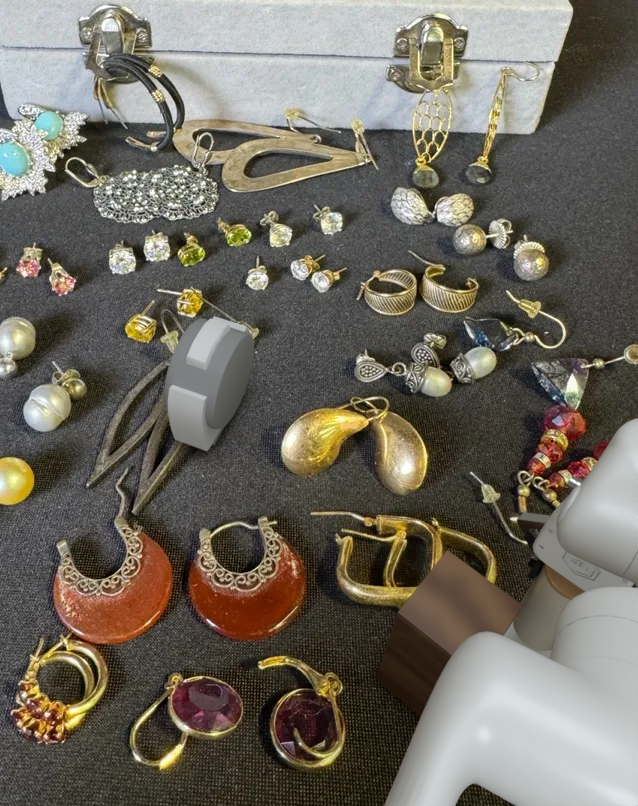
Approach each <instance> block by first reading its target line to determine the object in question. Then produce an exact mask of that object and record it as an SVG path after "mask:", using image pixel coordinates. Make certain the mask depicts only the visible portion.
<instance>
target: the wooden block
mask: <svg viewBox="0 0 638 806" xmlns="http://www.w3.org/2000/svg"><path fill="white" fill-rule="evenodd" d="M522 606H523V605H522V604H521V603H520V602H519V601H518V600H517V599H515V598H514V597H512V596H511V595H510V594H508V593H507V592H506V591H505V590H503V589H502V588H501V587H499V586H497V585H496V584H495V583H494V582H492V581H491V580H489V579H488V578H486V577H485V576H484V575H483V574H481V573H480V572H478V571H477V570H476V569H474V568H473V567H471V566H470V565H469V564H468V563H466V562H465V561H463V560H462V559H460V558H459V557H458V556H456V555H455V554H454V553H452V552H451V551H450V550H448V549H446V550H445V552H444V553H443V554H442V555H441V557H440V558H439V560H437V562H436V563H435V564H434V565H433V566H432V568H431V570H430V571H429V572H428V574H426V575H425V577H424V578H423V580H421V581H420V583H419V584H418V585H417V587H416V588H415V590H414V591H413V592H412V593H411V594H410V595H409V597H408V598H407V600H406V601H405V602H404V604H403V605H402V606H401V607H400V608H399V610H398V611H397V614H396V616H395V619H394V621H393V624H392V628H391V631H390V634H389V637H388V640H387V642H386V645H385V649H384V652H383V655H382V659H381V661H380V664H379V667H378V670H377V672H376V676H375V680H376V681H377V682H378V683H380V684H381V685H382V686H383V687H384V688H385V689H386V690H388V691H389V692H390V693H391V694H392V695H394V696H395V697H396V698H397V699H398V700H400V701H401V702H402V703H403V704H404V705H405V706H406V707H408V708H409V709H410V710H411V711H412V712H413V713H414V714H415V715H417V716H418V717H420V718H421V715H422V713H423V711H424V708H425V706H426V704H427V702H428V700H429V698H430V695H431V693H432V691H433V689H434V687H435V685H436V683H437V681H438V679H439V677H440V675H441V673H442V671H443V669H444V668H445V666H446V664H447V663H448V661H449V659H450V658H451V657H452V655H453V654H454V652H455V651H456V650H457V648H458V647H459V646H460V645H461V644H462V643H463V642H464V641H465V640H467V639H468V638H469V637H471V636H473V635H475V634H477V633H479V632H486V631H488V632H494V633H497V634H500V635H502V636H504V635H505V633H506V632H507V630H508V629H509V627H510V625H511V624H512V622H513V621H514V619H515V617H516V616H517V614H518V612H519V611H520V609H521V608H522Z"/></svg>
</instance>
